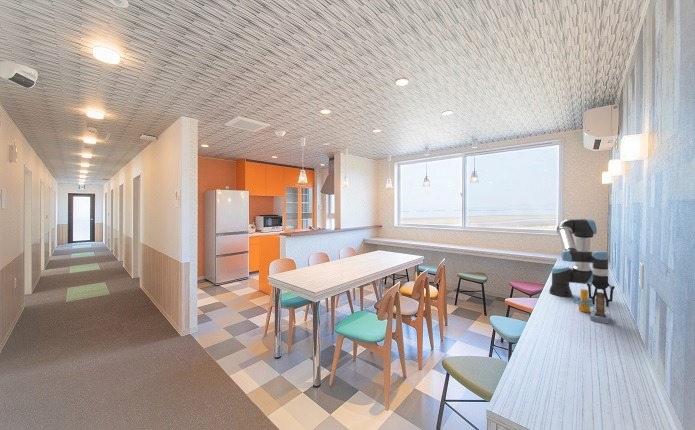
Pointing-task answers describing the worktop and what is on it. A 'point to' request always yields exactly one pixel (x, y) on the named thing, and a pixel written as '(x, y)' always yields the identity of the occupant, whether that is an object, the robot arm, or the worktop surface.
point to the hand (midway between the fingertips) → (600, 310)
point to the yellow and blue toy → (583, 301)
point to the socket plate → (600, 317)
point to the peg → (600, 303)
